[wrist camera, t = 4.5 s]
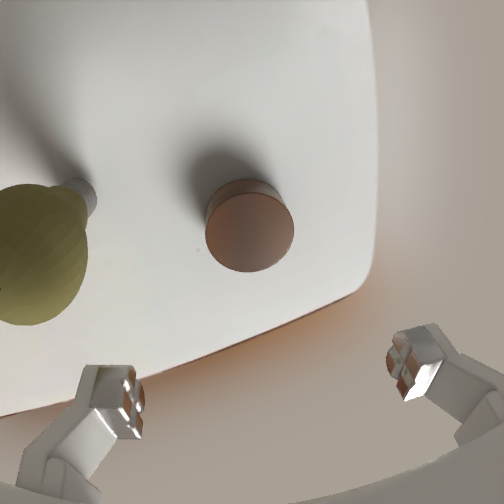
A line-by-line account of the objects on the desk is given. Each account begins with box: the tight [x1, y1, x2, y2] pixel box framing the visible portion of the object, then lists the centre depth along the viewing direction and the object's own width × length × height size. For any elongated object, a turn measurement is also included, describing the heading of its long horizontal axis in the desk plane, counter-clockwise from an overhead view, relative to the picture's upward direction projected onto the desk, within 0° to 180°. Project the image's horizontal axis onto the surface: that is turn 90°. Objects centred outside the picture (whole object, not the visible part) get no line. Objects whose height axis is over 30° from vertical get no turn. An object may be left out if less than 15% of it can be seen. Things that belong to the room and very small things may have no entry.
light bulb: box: [0, 178, 97, 325], centre depth 12 cm, size 6×6×10 cm
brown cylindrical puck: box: [205, 179, 294, 272], centre depth 17 cm, size 5×5×2 cm
